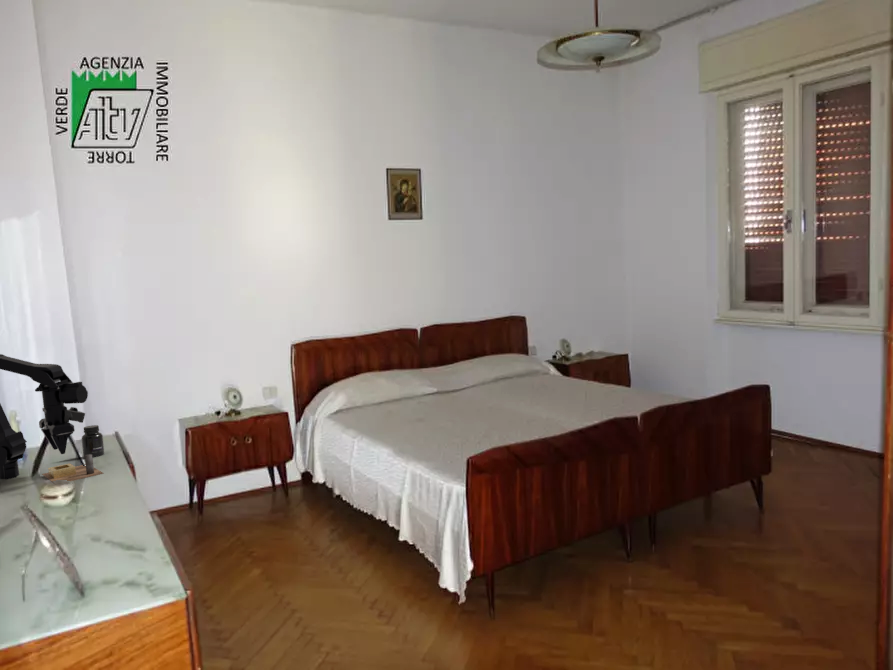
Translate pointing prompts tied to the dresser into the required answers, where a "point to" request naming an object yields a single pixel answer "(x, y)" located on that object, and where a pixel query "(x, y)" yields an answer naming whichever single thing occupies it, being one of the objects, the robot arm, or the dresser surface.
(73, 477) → the keeper board
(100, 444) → the supplement bottle
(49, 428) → the robot arm
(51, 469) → the wooden square frame
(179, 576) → the dresser surface
